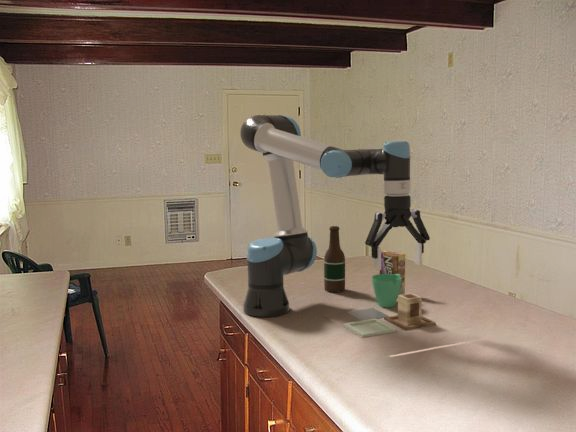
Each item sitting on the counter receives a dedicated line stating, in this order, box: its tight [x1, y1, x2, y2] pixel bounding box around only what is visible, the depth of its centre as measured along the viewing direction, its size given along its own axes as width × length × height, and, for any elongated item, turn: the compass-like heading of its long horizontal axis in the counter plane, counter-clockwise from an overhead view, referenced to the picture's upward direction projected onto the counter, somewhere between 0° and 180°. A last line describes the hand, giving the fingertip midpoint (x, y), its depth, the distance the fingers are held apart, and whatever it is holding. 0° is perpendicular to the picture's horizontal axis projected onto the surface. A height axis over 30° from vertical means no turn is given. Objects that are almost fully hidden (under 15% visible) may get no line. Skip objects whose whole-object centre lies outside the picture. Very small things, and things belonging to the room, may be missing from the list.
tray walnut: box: [383, 314, 437, 331], centre depth 171 cm, size 11×11×1 cm
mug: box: [371, 273, 402, 308], centre depth 191 cm, size 15×10×10 cm
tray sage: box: [343, 318, 397, 339], centre depth 166 cm, size 11×11×1 cm
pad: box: [345, 307, 389, 321], centre depth 179 cm, size 10×10×1 cm
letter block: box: [397, 292, 423, 326], centre depth 171 cm, size 5×5×8 cm
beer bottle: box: [323, 225, 346, 294], centre depth 210 cm, size 8×8×24 cm
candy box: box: [379, 250, 406, 295], centre depth 203 cm, size 9×4×15 cm, turn 39°
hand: (398, 267), depth 166 cm, fingers open, 13 cm apart
